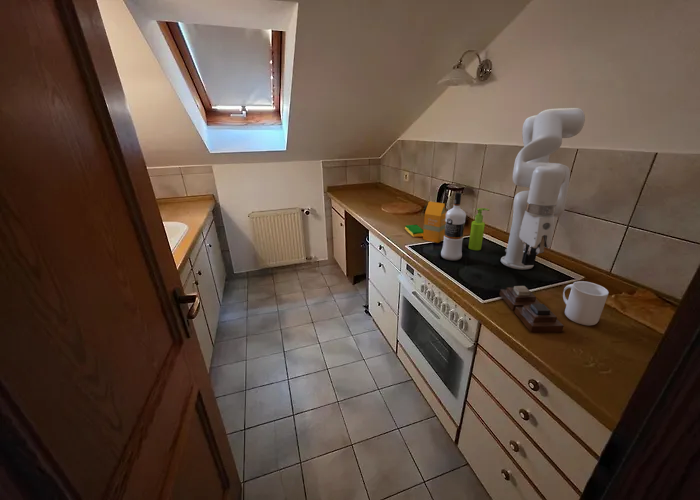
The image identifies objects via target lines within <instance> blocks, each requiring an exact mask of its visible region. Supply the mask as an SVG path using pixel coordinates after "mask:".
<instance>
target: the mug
mask: <svg viewBox="0 0 700 500" xmlns="http://www.w3.org/2000/svg"><path fill="white" fill-rule="evenodd" d="M568 289H570V292H569V296H568V298H567V297H566V295H565V294H566V293H565V292H566V291H567V290H568ZM609 293H610V292H609V290H608V289H607V288H606V287H604V286H602V285H600V284H598V283H594V282H591V281H584V280H579V281H574V282H573V283H571V284H567V285H566V286H565V287H564V288H563V290H562V299H563V302H564V304H565V309H564V315H565V316H566V317H567V319H569V320H570V321H572V322H574V323H576V324H579V325H583V326H595V325H597V324H598V322H599V321H600V318H601V316H602V313H603V311H604V307H605V304H606V301H607V299H608V296H609Z"/></svg>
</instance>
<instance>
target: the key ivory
mask: <svg viewBox="0 0 700 500" xmlns="http://www.w3.org/2000/svg"><path fill="white" fill-rule="evenodd" d="M513 287H514V289H513V291H514V292H515V293H516V294H517V295H529V294H530V292H531V291H530V289H528V287H526V286H525V285H514V286H513Z"/></svg>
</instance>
